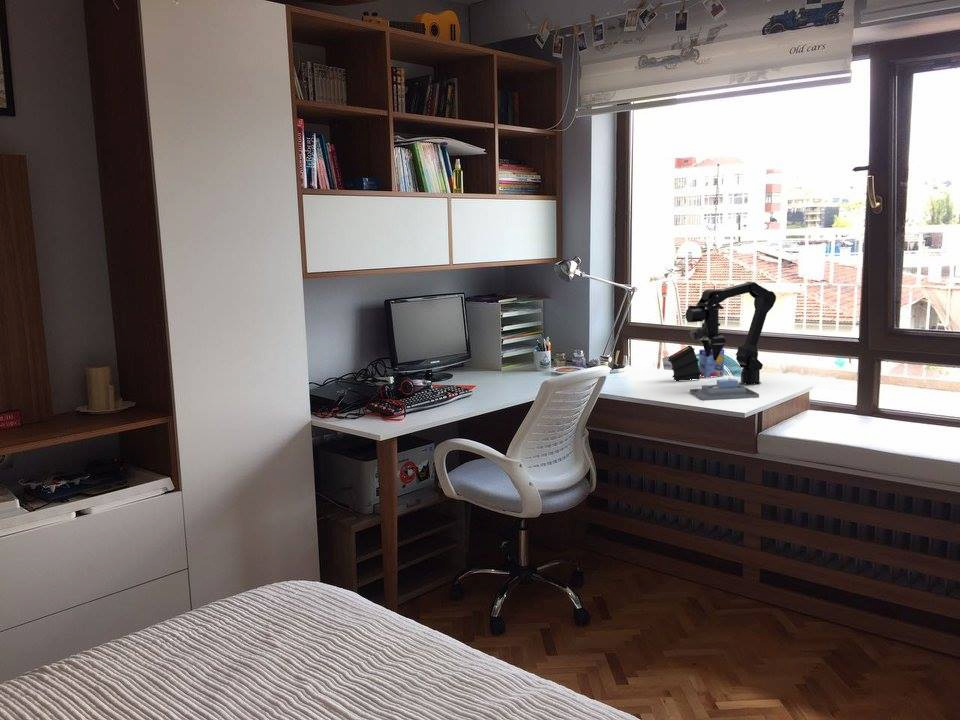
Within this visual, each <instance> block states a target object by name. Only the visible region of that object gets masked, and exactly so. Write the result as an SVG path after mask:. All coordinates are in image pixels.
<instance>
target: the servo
mask: <svg viewBox="0 0 960 720" xmlns="http://www.w3.org/2000/svg"><path fill="white" fill-rule="evenodd" d="M738 384H739V380H738V379H735V378H734V377H728V378H726V379H716V385H717V387H713V388H718V389H721V388H738Z"/></svg>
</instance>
